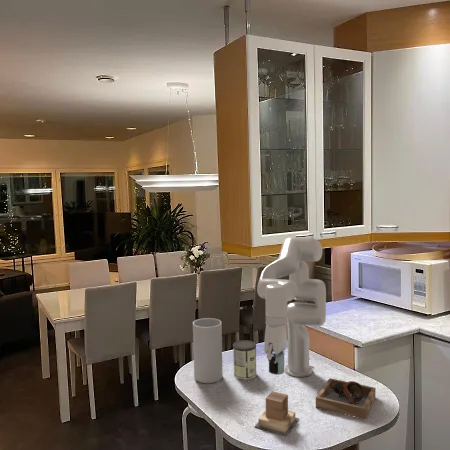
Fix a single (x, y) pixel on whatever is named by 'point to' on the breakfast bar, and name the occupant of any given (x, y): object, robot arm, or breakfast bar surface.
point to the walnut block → (276, 406)
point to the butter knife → (235, 416)
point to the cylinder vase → (207, 350)
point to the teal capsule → (280, 363)
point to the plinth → (277, 423)
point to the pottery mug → (349, 391)
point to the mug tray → (341, 406)
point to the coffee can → (244, 359)
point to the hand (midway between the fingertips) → (276, 369)
